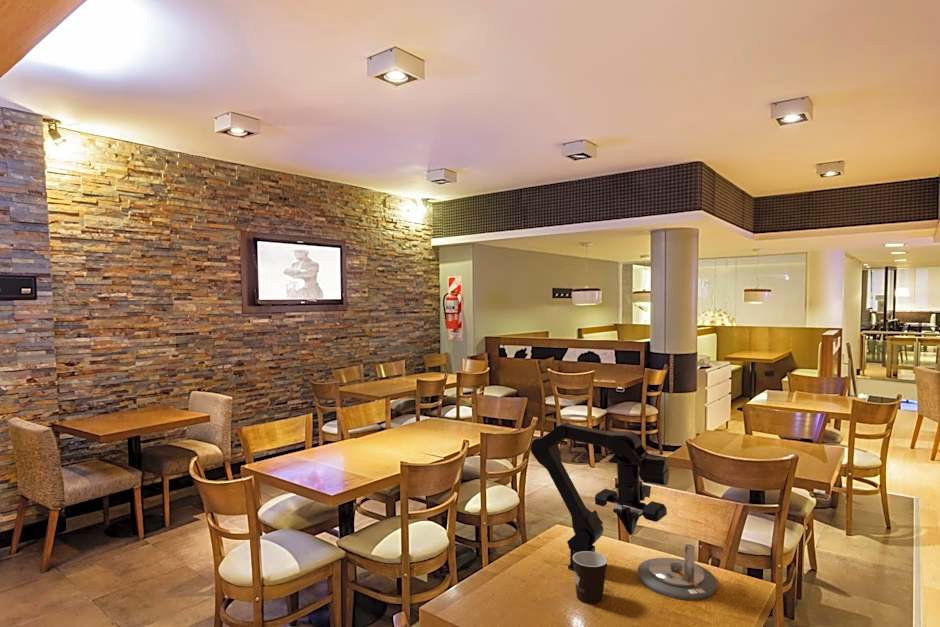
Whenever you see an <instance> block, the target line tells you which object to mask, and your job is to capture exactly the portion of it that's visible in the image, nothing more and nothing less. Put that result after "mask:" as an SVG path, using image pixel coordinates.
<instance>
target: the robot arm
mask: <svg viewBox="0 0 940 627" xmlns="http://www.w3.org/2000/svg"><path fill="white" fill-rule="evenodd" d="M566 439H567V440H571V441H574V442H580V443H585V444H589V445H593V446H597V447H598V446H599V447H602V448H605V449H606V450H608V451H610V452H611V453H613V456H611V457H610V458H609V459H608V462H609V463H611V464H616V475H617V479H616V480H617V483H615V484H614V486H615V487H614V488H615V489H617V491H615V490H612V489H608V488H604V489H602V490H601V491H599V492H597V493H596V494H595V496H594V504H595V506H596V505H597V506H600V507H606V505H608V502H609V503H612V504H613V505H614V509H612V511H613V513H615V514H616V515H617V517H618V519H619V520H620V521H621V524H622V525H623V527H624V528H625V530H626V532H627V534H628V535H629V536H632V535H634V533H635V530H636V526H637V523H638V521H639V519H640V518H641V517H642V516H643V518H644V519H645V520H647V521H651V522H654V523H656V522H660V521H661V520H662V519H663V518H664V517H666V515H667V513H668V512H667V506H666V505H665V504H664V503H661V502H656V501H653V500H652V501H650V502H648V503H647V504H646V503H645V502H643V501H645V500H646V498H648V499H649V498H650V497H651V489H652V486H651V485H659V486H665V487H666V486H667V485H668V484H669V481H670V469H669V465H668V463H667V458H664V457H650V455H649V453H648V451H647V450H646V448H645V447H644V446H643V444H642V442H641V440H642V439H641V438H640V436H639V435H638V434H637V433H636V432H634V431H631V430H614V431H605V430H602V429H597V428H591V427H586V426H582V425H577V424H572V423H569V422H568V421H567V422H563V423H560V424H558V425H557V426H555V428H553V430H551V431H550V432H548V433H547V434H544V435H542V436H540V437H537V438H535V439H534V440H532V442H531V444H530V452H531V454H532V455H533V457H534V459H535V460H536V461H537V463H539V464H540V465H541V466H542V467H543V468H545V470H547V472H548V474H549V476H550V478H551V480H552V482H553V484H554V486H555V487H556V490H557V491H558V494H559V495H560V497H561V499H562V501H563V502H564V505H565V506H566V509H567V510H568V512H569V514H570V517H571V524H572V529H573V533H574V535H573V536H572V537H570V539H568V540H567V547H568V549H569V551H570V554H569V559H570V560H569V562H570V563H569V564H568V565H567V569H568V570H569V569H570V570H572V571H574V567H573V555H574V554H575V553H577V552H582V551H591V552H596V546H595V545H594V544H596V542H597V541H598V540H599V539H600V538H602V535H603V533H604V526H603V524H604V522H603V521H602V520H601V519H600V517H599V513H598V512H597V510H596V509H594V510H593V511H591V510H590V509H588V508H587V506H586V505H585V503H584V501H583V499H582V498H581V495H580V494H579V492H578V489H577V488H576V486H575V485H574V482H573V481H572V478H571V477H570V475H569V473H568V472H567V470H566V467H565V466H564V464H563V462H562V456H561V449H560V447H559V445H560V444H561V443H562V442H564V440H566ZM643 483H646V484H643ZM647 484H651V485H647ZM641 501H642V502H641Z"/></svg>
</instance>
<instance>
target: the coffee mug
mask: <svg viewBox="0 0 940 627" xmlns="http://www.w3.org/2000/svg"><path fill="white" fill-rule="evenodd" d="M607 564H608V558H607V557H606V556H605V555H603V554H602V553H598V552H597V551H595V552H591V551H582V552H577V553H575V554H574V555H573V567H574V570H573V576H574V583H575V592H576V599H577V600H578V601H579V602H581V603H582V604H587V605H598V604H600V603H601V602H603V597H604V596H603V595H604V588H605V579H606V574H607V573H606V572H607V566H608V565H607Z"/></svg>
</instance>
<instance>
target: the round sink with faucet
mask: <svg viewBox="0 0 940 627" xmlns="http://www.w3.org/2000/svg"><path fill="white" fill-rule="evenodd" d="M695 547H696V546H695V545H693V544H689V543H686V544H684V559H681V558H677V557H676V558H675V557H658V558H659V559H655V560H653V561H652V562H651V563H650V564H649V572H650V574H651V575H652V576H653V577H654V578H655V579H657V580H658V581H660V582H663V583H665V584H668V585H672V586H677V587H695V586H698V585H700V584H702V583H703V582H704V572H703V570H702V569H701V568H700V567H698V566H697V565H698V564H697V565H695V564H696V563H695V549H696V548H695Z"/></svg>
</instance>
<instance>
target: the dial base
mask: <svg viewBox="0 0 940 627" xmlns="http://www.w3.org/2000/svg"><path fill="white" fill-rule="evenodd" d="M659 558H660V557H656V558H650V559H647V560H644V561H642V562H640V564H639V565H638V567H637V579H638V580H639V582H640V583H641V584H642V585H643V586H644V587H645V588H647V589H648V590H650V591H652V592H654V593H656V594H659V595H661V596H664V597H667V598H672V599H675V600H676V599H677V600H683V601H695V600H696V601H697V599H699V600H704V599H708V598H710V597H712V596H713V595H714V594H715V593H716V592H715V591H717V589H716V588H717V586H718V585H717V583H718V581H717V579H716V578H717V577H715V575H714V574H713V573H712V572H711V571H710V570H708V569H707V568H705V567H704V566H701V565H699V564H696V563H694V564H695V565H697V566H698V567H700V568H701V569H702V570H703V572H704V582H703V583H702V584H700V585H698V586H695V587H677V586H672V585H668V584H665V583H663V582H660V581H658V580H657V579H655V578H654V577H653V576H652V575H651V574H650V572H649V564H650V563H651V562H652V561H653V560H655V559H659ZM711 595H712V596H711ZM707 597H708V598H707Z"/></svg>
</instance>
